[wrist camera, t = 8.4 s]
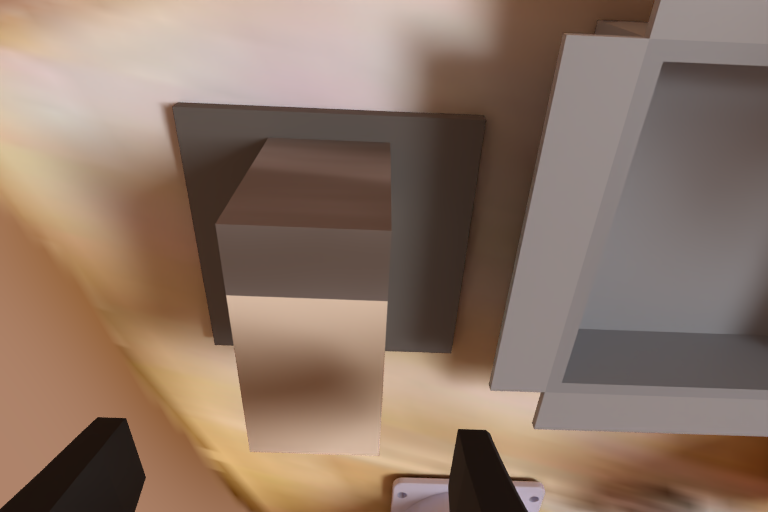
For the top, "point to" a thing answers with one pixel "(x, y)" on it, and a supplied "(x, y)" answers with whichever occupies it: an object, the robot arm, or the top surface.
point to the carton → (648, 230)
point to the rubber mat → (408, 200)
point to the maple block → (310, 293)
